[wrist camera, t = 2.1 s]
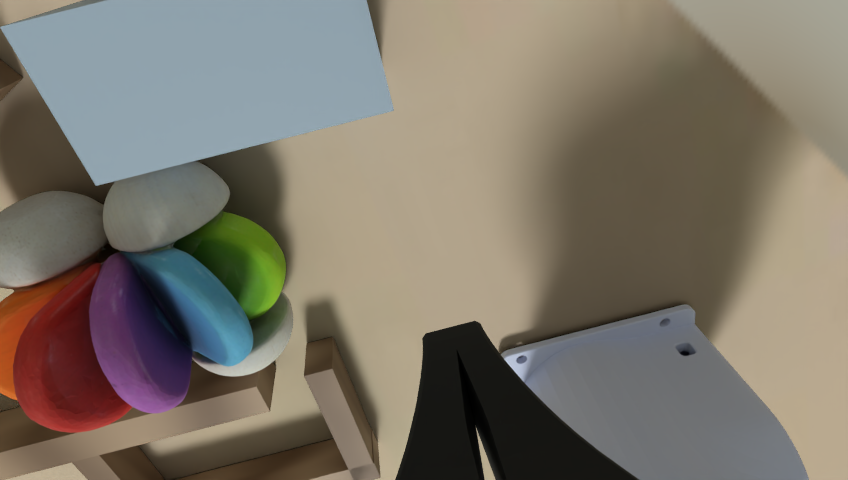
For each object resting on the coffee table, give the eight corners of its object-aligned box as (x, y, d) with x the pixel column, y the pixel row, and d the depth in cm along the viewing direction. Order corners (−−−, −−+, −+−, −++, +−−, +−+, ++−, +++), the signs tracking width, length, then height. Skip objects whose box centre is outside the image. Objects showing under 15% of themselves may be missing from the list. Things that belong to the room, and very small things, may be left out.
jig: (193, -7, 16) (160, 10, 13) (377, 443, 28) (382, 506, 25) (-498, 169, 16) (-688, 226, 13) (-25, 547, 28) (-68, 622, 25)
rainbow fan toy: (-23, 200, 19) (-202, 338, 13) (241, 123, 19) (192, 224, 12) (110, 367, 23) (26, 530, 17) (324, 306, 23) (318, 448, 17)
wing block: (347, -67, 16) (351, -62, 12) (381, 65, 18) (394, 110, 14) (89, -2, 16) (-1, 26, 12) (152, 123, 18) (96, 185, 14)
